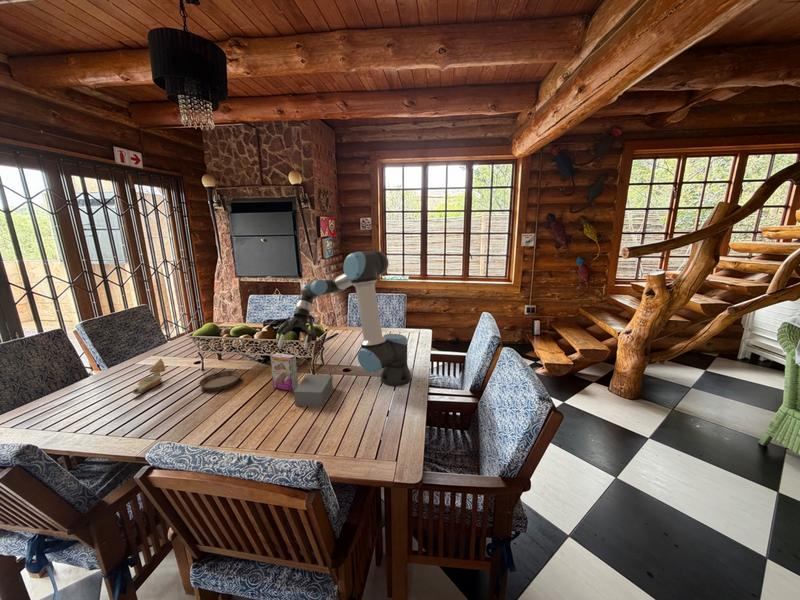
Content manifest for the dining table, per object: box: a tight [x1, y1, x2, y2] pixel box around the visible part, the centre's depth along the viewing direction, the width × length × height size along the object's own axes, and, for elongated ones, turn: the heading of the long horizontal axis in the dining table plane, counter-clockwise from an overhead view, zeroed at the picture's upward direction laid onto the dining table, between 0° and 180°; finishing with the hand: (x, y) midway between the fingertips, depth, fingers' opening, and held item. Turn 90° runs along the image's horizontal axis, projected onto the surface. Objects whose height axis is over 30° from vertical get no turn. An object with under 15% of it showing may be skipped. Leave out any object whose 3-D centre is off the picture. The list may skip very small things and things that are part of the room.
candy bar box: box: [269, 352, 299, 392], centre depth 150 cm, size 11×5×16 cm, turn 71°
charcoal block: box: [293, 373, 334, 408], centre depth 143 cm, size 12×16×7 cm
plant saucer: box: [198, 370, 241, 392], centre depth 156 cm, size 18×18×3 cm
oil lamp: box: [131, 358, 166, 395], centre depth 152 cm, size 9×21×10 cm, turn 6°
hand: (291, 347), depth 158 cm, fingers open, 13 cm apart
